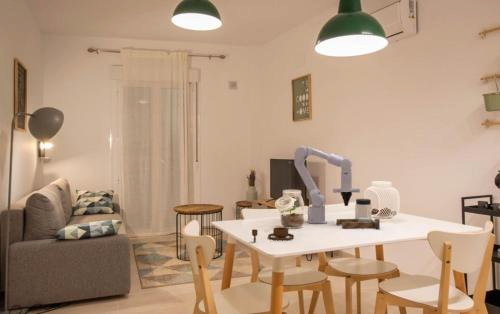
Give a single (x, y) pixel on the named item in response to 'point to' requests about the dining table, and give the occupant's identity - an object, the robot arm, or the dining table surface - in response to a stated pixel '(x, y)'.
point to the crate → (364, 219)
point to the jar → (363, 208)
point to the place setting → (276, 234)
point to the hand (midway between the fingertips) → (346, 205)
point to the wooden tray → (358, 224)
